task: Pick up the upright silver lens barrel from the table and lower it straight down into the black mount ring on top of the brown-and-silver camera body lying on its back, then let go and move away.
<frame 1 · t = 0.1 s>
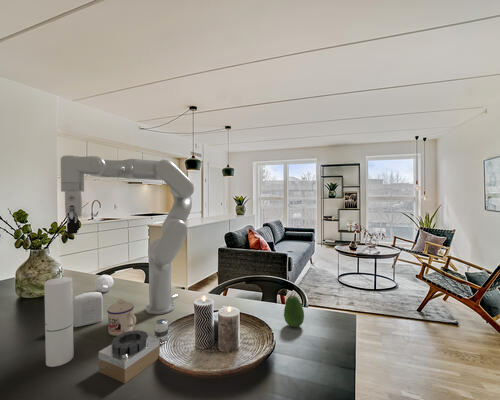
hand: (73, 231, 105), 37 cm above the table, tool pointing down, fingers open, 9 cm apart
teacup with lid: (123, 331, 103), on the table
cylindrical container: (60, 360, 85), on the table
camera body: (130, 364, 83), on the table
avocado: (293, 327, 107), on the table
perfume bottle: (103, 292, 143), on the table
lens: (161, 341, 96), on the table
photo printer: (88, 323, 109), on the table
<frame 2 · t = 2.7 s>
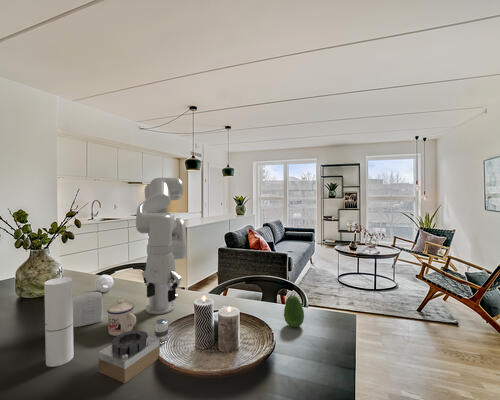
hand: (161, 298, 95), 15 cm above the table, tool pointing down, fingers open, 9 cm apart
nothing on the table moved.
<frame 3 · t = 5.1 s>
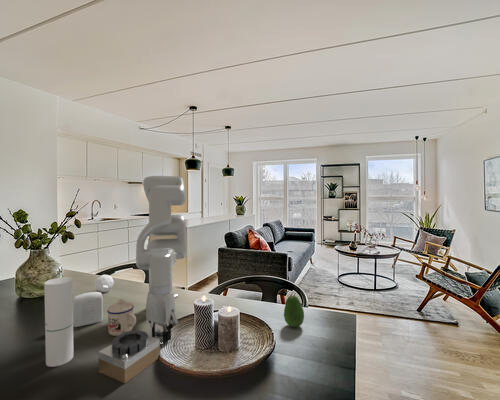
hand: (161, 338, 96), 1 cm above the table, tool pointing down, fingers closed on lens, 4 cm apart
lens: (161, 341, 96), on the table, touching gripper
everything else where it was.
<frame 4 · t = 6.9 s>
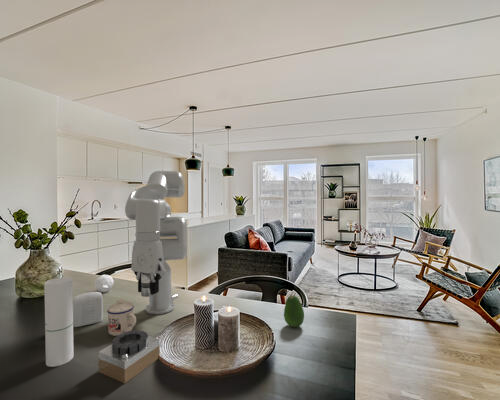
hand: (148, 291, 89), 20 cm above the table, tool pointing down, fingers closed on lens, 4 cm apart
lens: (148, 294, 89), point 19 cm above the table, touching gripper
everything else where it was.
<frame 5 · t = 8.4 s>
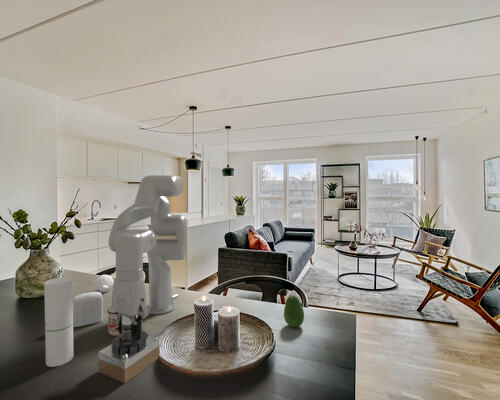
hand: (130, 332, 82), 10 cm above the table, tool pointing down, fingers closed on lens, 4 cm apart
lens: (129, 335, 82), point 9 cm above the table, touching gripper
everything else where it was.
when the fingers open (9 cm above the table, at t = 9.2 s): lens drops 2 cm, resting on camera body.
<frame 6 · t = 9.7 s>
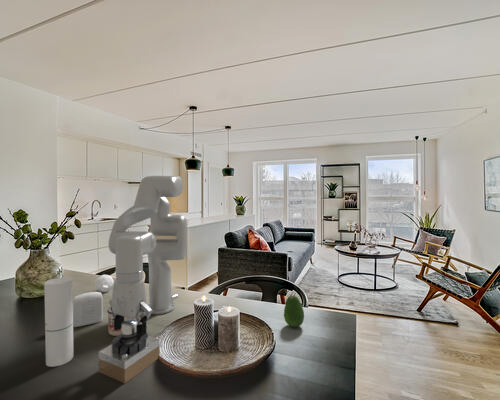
hand: (130, 332, 83), 10 cm above the table, tool pointing down, fingers open, 9 cm apart
lens: (129, 345, 83), point 6 cm above the table, touching camera body
everything else where it was.
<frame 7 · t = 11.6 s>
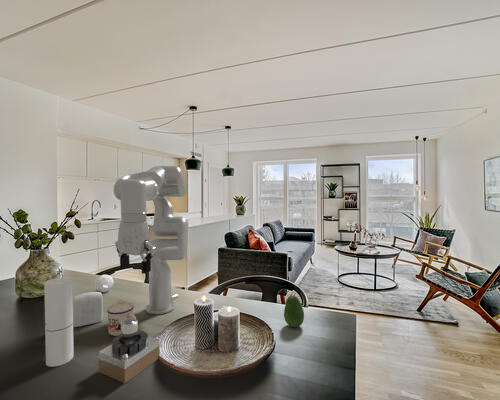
hand: (135, 270, 88), 27 cm above the table, tool pointing down, fingers open, 9 cm apart
nothing on the table moved.
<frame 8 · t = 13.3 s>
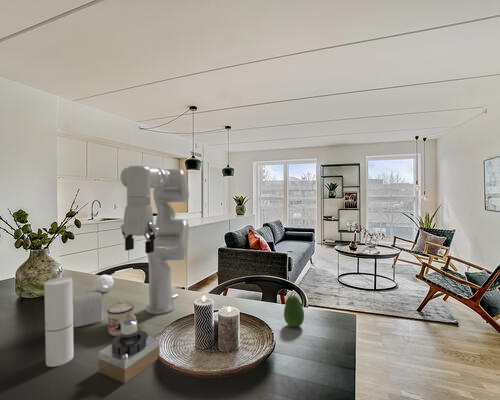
hand: (139, 251, 94), 32 cm above the table, tool pointing down, fingers open, 9 cm apart
nothing on the table moved.
at the end: lens 0.2 cm off-centre on the camera body, point 6.0 cm above the camera body's base; lens tilted 1°; the gripper is holding nothing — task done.
